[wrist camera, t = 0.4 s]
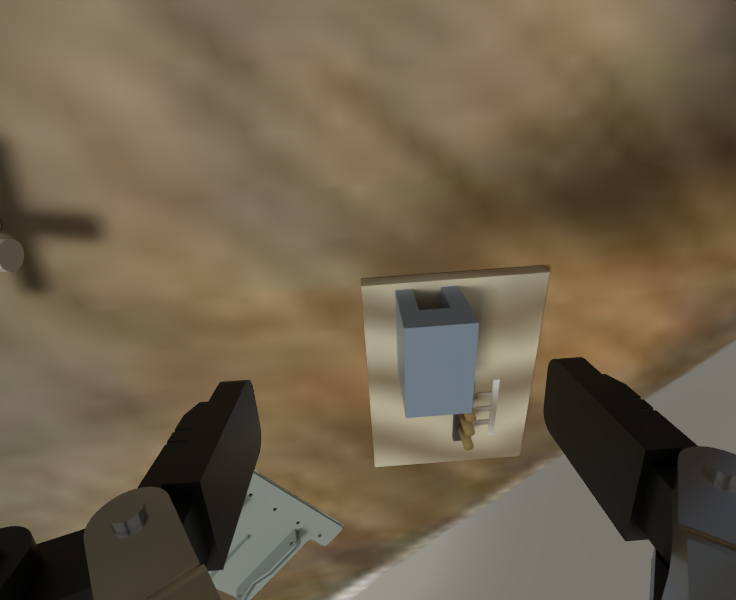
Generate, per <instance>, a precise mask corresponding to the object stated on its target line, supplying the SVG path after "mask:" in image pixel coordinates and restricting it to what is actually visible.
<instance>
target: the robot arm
mask: <svg viewBox="0 0 736 600" xmlns="http://www.w3.org/2000/svg"><path fill="white" fill-rule="evenodd" d="M544 419H545V423H546V426H547V429H548V431H549V432H550V434H551V435H552V437H553V438H554V440H555V441H556V443H557V444H558V445H559V447H560V448H561V450H562V451H563V453H564V454H565V455H566V457H567V458H568V459H569V461H570V462H571V464H572V465H573V467H574V468H575V470H576V471H577V473H578V474H579V475H580V477H581V478H582V480H583V481H584V483H585V484H586V485H587V487H588V488H589V490H590V491H591V493H592V494H593V496H594V497H595V498H596V500H597V501H598V503H599V504H600V505H601V507H602V508H603V510H604V511H605V513H606V514H607V515H608V517H609V519H610V520H611V521H612V523H613V524H614V526H615V527H616V529H617V530H618V531H619V533H620V534H621V536H622V537H623V539H624V540H625V541H634V540H646V539H649V540H650V542H651V543H652V544H653V546H654V547H655V548H654V552H653V556H652V562H651V563H652V564H651V580H650V598H649V600H736V455H735V454H733V453H730V452H727V451H724V450H720V449H716V448H711V447H703V446H702V447H701V446H697V445H696V444H695V443H694V442H693V441H691V440H690V439H689V438H688V437H687V436H686V435H684V434H683V433H682V432H681V431H680V430H679V429H677V428H676V427H675V426H674V425H673V424H672V423H670V422H669V421H668V420H667V419H666V418H664V417H663V416H662V415H661V414H660V413H659V412H658V411H656V410H655V411H654V410H653V407H652V406H651V405H649V404H648V403H647V402H646V401H645V400H641V397H640V396H639V395H638V394H637V393H635V392H634V391H633V390H632V389H631V388H630V387H628V386H627V385H626V384H624V383H622V382H620V381H618V380H616V379H614V378H612V377H610V376H608V375H606V374H601V373H600V372H599V371H598V370H597V369H596V368H594V367H593V366H592V365H591V364H590V363H589V362H588V361H587V360H586V359H584V358H582V357H575V358H561V359H552V360H551V361H550V363H549V365H548V372H547V381H546V390H545V400H544ZM260 447H261V428H260V422H259V417H258V411H257V406H256V401H255V395H254V390H253V385H252V383H251V381H250V380H240V381H226V382H220V383H219V384H218V386H217V388H216V390H215V391H214V393H213V395H212V396H211V398H210V400H209V402H200V403H198V404H197V405H196V406H195V407H193V408H192V409H191V410H190V411H189V412H187V413H186V414H185V415H184V416H183V418H182V419H181V421H180V422H179V424H178V425H177V427H176V429H175V432H173V433H172V435H171V436H170V438H169V439H168V441H167V445H165V446H164V447H163V449H162V450H161V452H160V454H159V455H158V457H157V458H156V460H155V461H154V463H153V464H152V466H151V468H150V469H149V471H148V472H147V474H146V475H145V477H144V479H143V480H142V482H141V483H140V485H139V486H138V488H137V489H134V490H131V491H128V492H126V493H123V494H121V495H119V496H117V497H115V498H114V499H112V500H111V501H109V502H108V503H106V504H105V505H104V506H103V507H101V508H100V509H99V510H98V511H97V512H96V513H95V514H94V516H93V517H92V518H91V519H90V521H89V522H88V524H87V526H86V528H85V529H83V530H80V531H77V532H74V533H71V534H67V535H64V536H61V537H58V538H55V539H52V540H49V541H46V542H43V543H39V544H36V543H35V541H34V538H33V536H32V534H31V532H30V531H29V530H28V529H27V528H24V527H20V526H10V527H5V528H0V600H221V598H220V596H219V594H218V592H217V590H216V588H215V585H214V583H213V581H212V579H211V577H210V575H209V572H208V571H217V570H223V569H224V566H225V562H226V559H227V556H228V553H229V549H230V546H231V543H232V540H233V537H234V533H235V530H236V527H237V524H238V520H239V517H240V514H241V511H242V508H243V504H244V501H245V498H246V495H247V491H248V488H249V485H250V482H251V479H252V475H253V472H254V469H255V466H256V462H257V459H258V456H259V453H260Z"/></svg>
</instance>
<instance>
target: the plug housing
mask: <svg viewBox="0 0 736 600" xmlns="http://www.w3.org/2000/svg"><path fill="white" fill-rule="evenodd" d="M395 306H396V336H397V367H398V376H399V382H400V387H401V393H402V399H403V405H404V410H405V416H406V418H415V417H428V416H441V415H454V414H467V413H472V406H473V393H474V381H475V368H476V356H477V343H478V331H479V322H478V320H477V318H476V316H475V315H474V313H473V311H472V309H471V307H470V306H469V304H468V302H467V300H466V298H465V297H464V295H463V293H462V291H461V289H460V288H459V286H446V287H441V309H429V310H419V308H418V305H417V302H416V299H415V296H414V293H413V290H412V289H405V290H395Z"/></svg>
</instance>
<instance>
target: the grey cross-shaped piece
mask: <svg viewBox="0 0 736 600" xmlns="http://www.w3.org/2000/svg"><path fill="white" fill-rule="evenodd" d="M0 229H1V222H0ZM23 260H24V250H23V248H22V246H21V244H20V242H18V241H16V240H15V239H13V238H0V272H13V271H17V270H18V269H19V268H20V267H21V266H22V263H23Z"/></svg>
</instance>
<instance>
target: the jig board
mask: <svg viewBox="0 0 736 600" xmlns="http://www.w3.org/2000/svg"><path fill="white" fill-rule="evenodd" d="M549 274H550V272H549V271H548V270H547V269H546V268H545V267H544V266H528V267H515V268H501V269H488V270H474V271H461V272H447V273H434V274H420V275H406V276H393V277H379V278H366V279H361V289H362V302H363V315H364V328H365V341H366V355H367V368H368V381H369V394H370V407H371V420H372V433H373V446H374V460H375V467H383V466H395V465H408V464H421V463H433V462H446V461H459V460H471V459H484V458H497V457H510V456H520V451H521V444H522V438H523V432H524V426H525V420H526V414H527V408H528V402H529V396H530V390H531V384H532V378H533V372H534V365H535V359H536V353H537V347H538V341H539V335H540V329H541V323H542V317H543V311H544V305H545V299H546V293H547V287H548V280H549ZM446 286H459V288H460V289H461V291H462V293H463V295H464V297H465V298H466V300H467V302H468V304H469V306H470V307H471V309H472V311H473V313H474V315H475V316H476V318H477V320H478V322H479V331H478V343H477V356H476V368H475V381H474V393H473V406H472V413H467V414H454V415H441V416H428V417H415V418H406V416H405V410H404V405H403V399H402V393H401V387H400V382H399V376H398V367H397V336H396V306H395V290H405V289H412V290H413V293H414V296H415V299H416V302H417V305H418V308H419V310H429V309H441V287H446Z"/></svg>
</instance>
